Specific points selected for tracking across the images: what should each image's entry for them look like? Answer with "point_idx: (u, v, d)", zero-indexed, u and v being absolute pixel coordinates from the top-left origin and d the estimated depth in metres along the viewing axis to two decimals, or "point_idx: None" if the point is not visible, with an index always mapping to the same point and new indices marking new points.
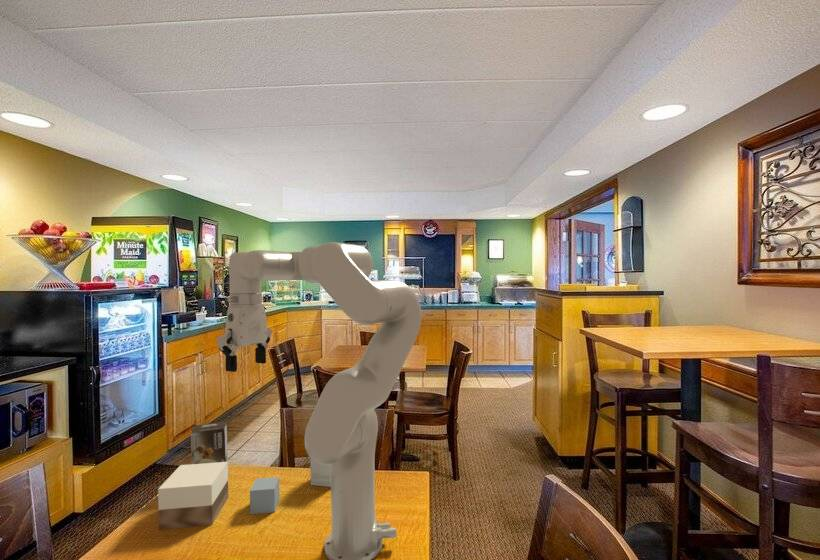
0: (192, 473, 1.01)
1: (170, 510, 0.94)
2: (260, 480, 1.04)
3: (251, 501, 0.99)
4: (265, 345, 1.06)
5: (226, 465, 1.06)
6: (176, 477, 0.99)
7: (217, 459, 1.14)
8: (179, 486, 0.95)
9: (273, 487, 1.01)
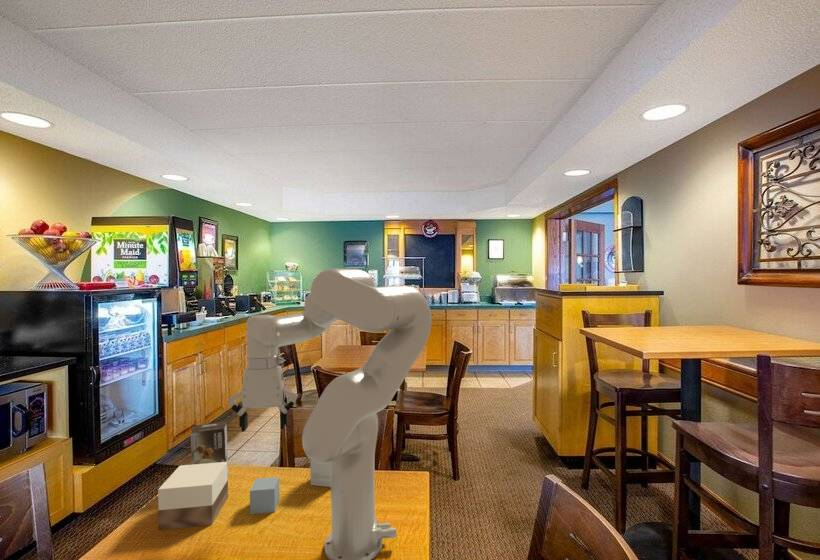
0: (192, 473, 1.01)
1: (170, 510, 0.94)
2: (260, 480, 1.04)
3: (251, 501, 0.99)
4: None
5: (226, 465, 1.06)
6: (176, 477, 0.99)
7: (217, 459, 1.14)
8: (179, 486, 0.95)
9: (273, 487, 1.01)
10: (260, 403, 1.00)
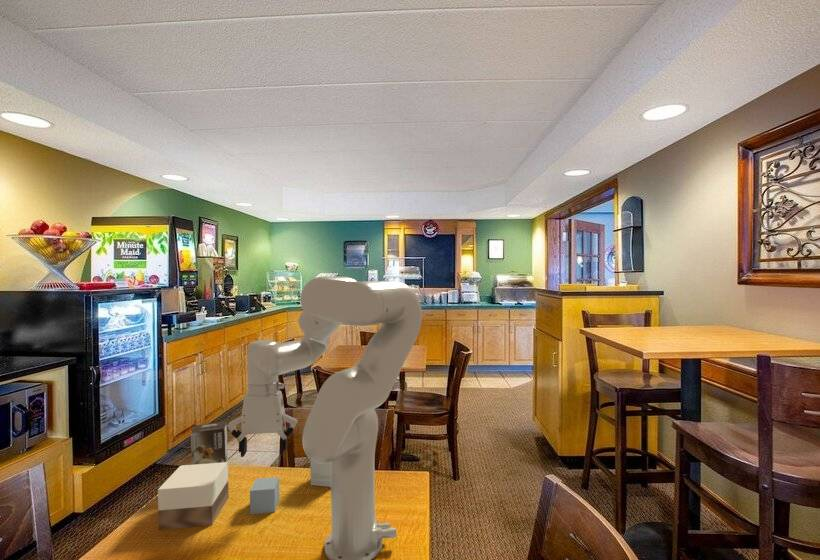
0: (192, 473, 1.01)
1: (170, 510, 0.94)
2: (260, 480, 1.04)
3: (251, 501, 0.99)
4: None
5: (226, 465, 1.06)
6: (176, 477, 0.99)
7: (217, 459, 1.14)
8: (178, 486, 0.94)
9: (273, 487, 1.01)
10: (260, 429, 1.00)
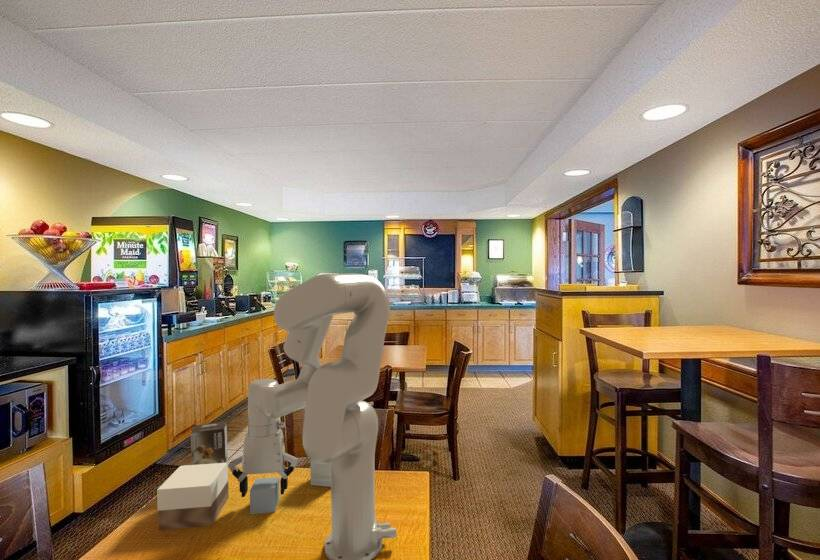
0: (191, 473, 1.01)
1: (170, 510, 0.94)
2: (260, 480, 1.04)
3: (251, 501, 0.99)
4: None
5: (226, 466, 1.06)
6: (175, 477, 0.99)
7: (217, 459, 1.14)
8: (178, 487, 0.94)
9: (273, 487, 1.01)
10: (260, 469, 1.01)
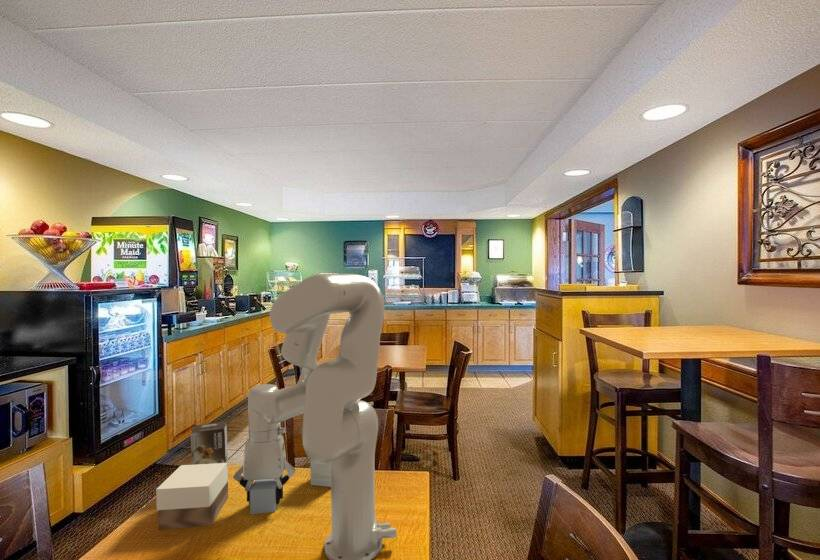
0: (191, 473, 1.01)
1: (169, 510, 0.94)
2: (260, 480, 1.04)
3: (251, 501, 0.99)
4: None
5: (226, 466, 1.06)
6: (175, 477, 0.99)
7: (217, 459, 1.14)
8: (176, 487, 0.94)
9: (273, 487, 1.01)
10: (261, 475, 1.00)
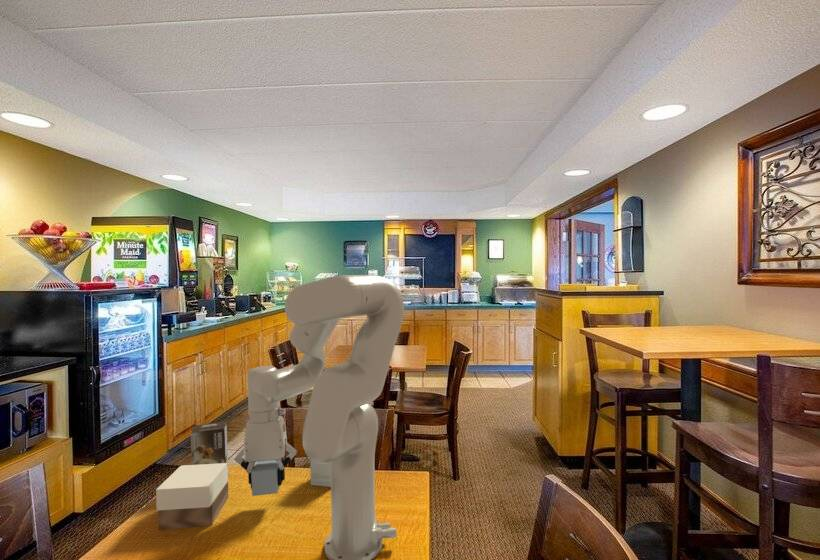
0: (191, 474, 1.01)
1: (170, 510, 0.94)
2: (261, 462, 1.04)
3: (253, 482, 0.99)
4: None
5: (226, 466, 1.06)
6: (175, 477, 0.99)
7: (217, 459, 1.14)
8: (176, 487, 0.94)
9: (274, 468, 1.00)
10: (262, 456, 1.00)
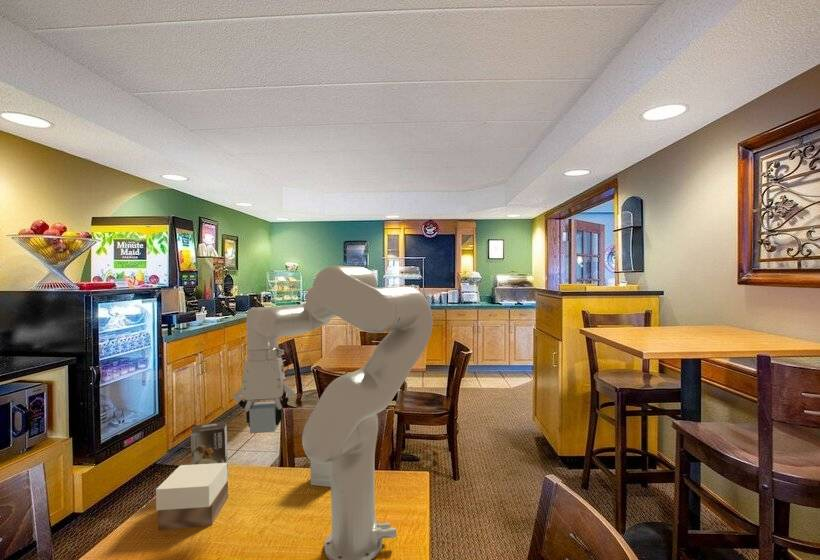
0: (190, 473, 1.01)
1: (170, 510, 0.94)
2: (260, 403, 1.04)
3: (251, 420, 0.99)
4: None
5: (225, 466, 1.06)
6: (175, 477, 0.99)
7: (217, 459, 1.14)
8: (176, 487, 0.94)
9: (273, 407, 1.00)
10: (261, 395, 1.00)
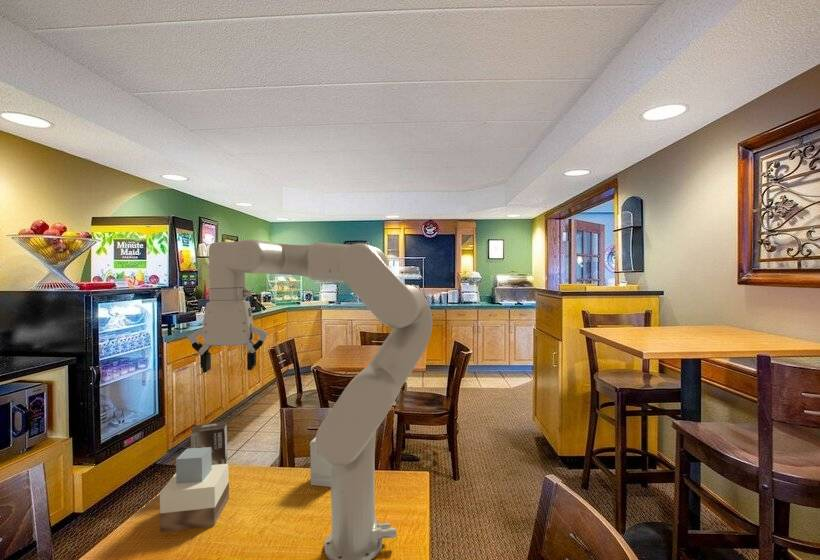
0: None
1: (171, 512, 0.93)
2: (190, 449, 1.01)
3: (177, 470, 0.96)
4: None
5: (227, 467, 1.05)
6: None
7: (217, 459, 1.14)
8: (181, 489, 0.94)
9: (201, 456, 0.98)
10: (224, 340, 0.89)
